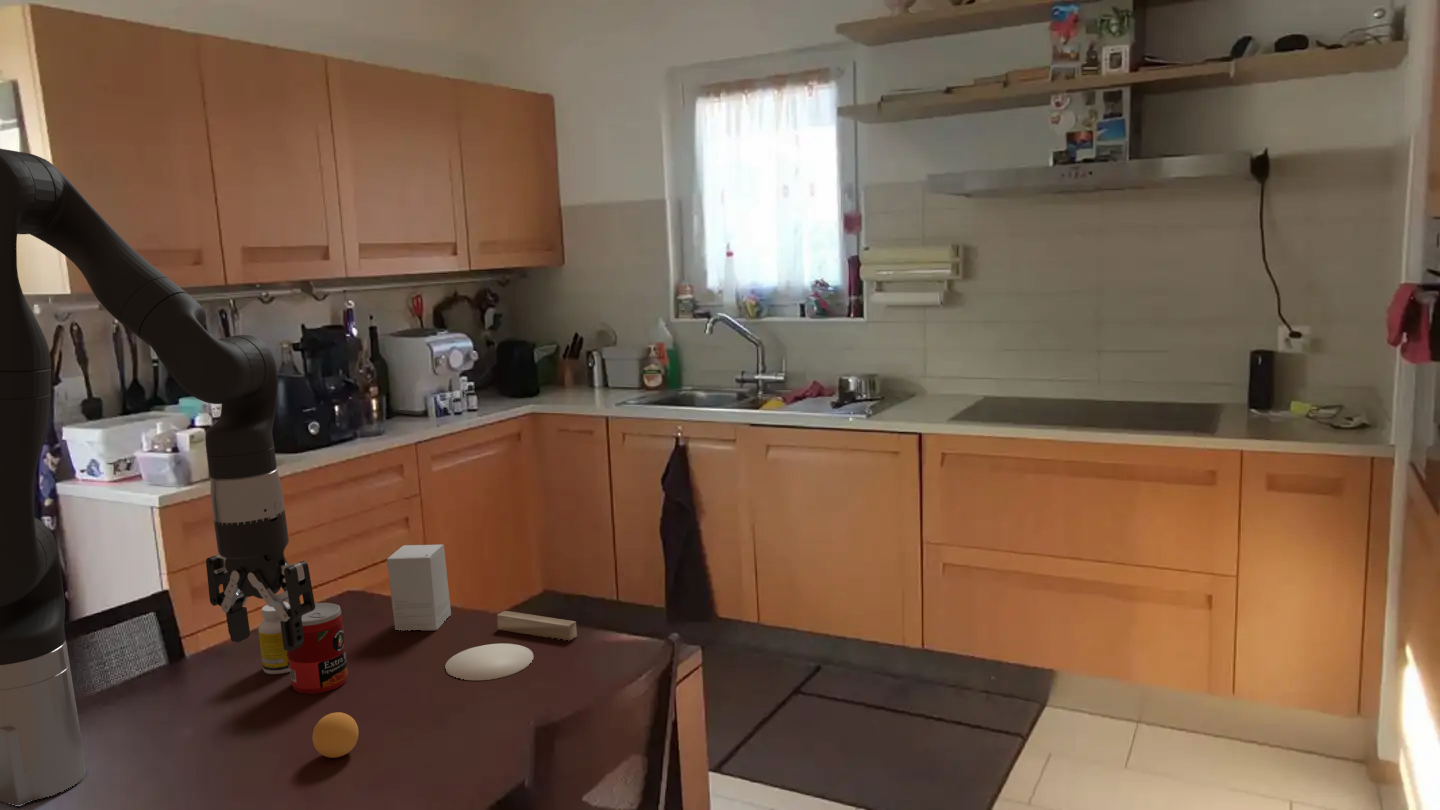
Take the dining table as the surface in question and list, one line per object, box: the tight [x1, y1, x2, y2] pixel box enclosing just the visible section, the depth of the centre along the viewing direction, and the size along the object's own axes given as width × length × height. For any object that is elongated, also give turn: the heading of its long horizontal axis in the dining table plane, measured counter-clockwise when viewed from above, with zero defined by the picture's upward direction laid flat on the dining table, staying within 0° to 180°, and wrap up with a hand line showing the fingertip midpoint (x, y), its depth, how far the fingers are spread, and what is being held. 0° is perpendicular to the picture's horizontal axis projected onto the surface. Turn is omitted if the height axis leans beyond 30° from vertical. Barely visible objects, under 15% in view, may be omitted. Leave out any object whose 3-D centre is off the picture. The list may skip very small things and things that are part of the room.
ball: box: [312, 711, 360, 759], centre depth 130 cm, size 5×5×5 cm
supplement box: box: [386, 543, 452, 632], centre depth 173 cm, size 7×7×13 cm
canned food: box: [287, 602, 349, 695], centre depth 151 cm, size 8×8×11 cm
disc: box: [444, 643, 534, 681], centre depth 157 cm, size 13×13×1 cm
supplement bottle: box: [258, 601, 290, 675], centre depth 157 cm, size 5×5×10 cm
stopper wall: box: [496, 610, 578, 642], centre depth 167 cm, size 2×14×2 cm, turn 64°
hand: (267, 644), depth 122 cm, fingers open, 8 cm apart
